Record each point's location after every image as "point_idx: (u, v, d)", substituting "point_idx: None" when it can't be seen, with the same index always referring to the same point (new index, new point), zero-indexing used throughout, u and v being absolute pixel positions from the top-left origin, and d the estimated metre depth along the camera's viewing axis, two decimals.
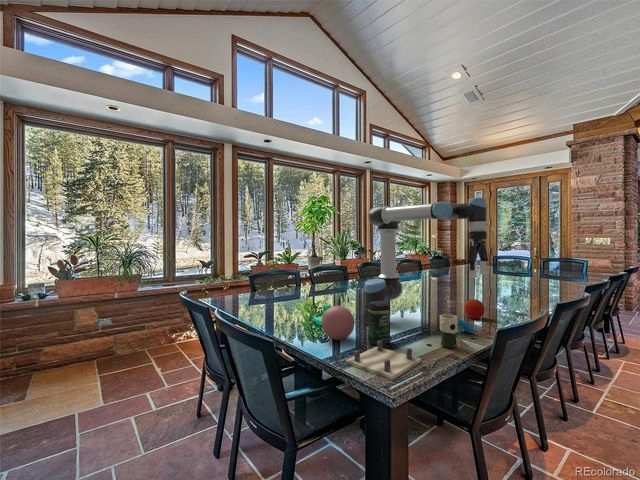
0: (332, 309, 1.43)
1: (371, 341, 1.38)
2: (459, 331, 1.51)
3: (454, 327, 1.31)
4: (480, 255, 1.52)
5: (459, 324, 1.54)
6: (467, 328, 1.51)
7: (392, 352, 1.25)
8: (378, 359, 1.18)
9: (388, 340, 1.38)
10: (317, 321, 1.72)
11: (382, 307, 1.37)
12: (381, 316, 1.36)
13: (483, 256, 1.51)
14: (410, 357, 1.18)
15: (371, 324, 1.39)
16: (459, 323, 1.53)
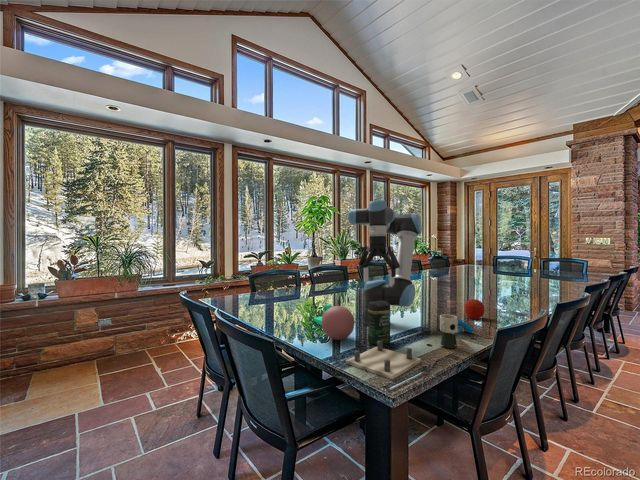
0: (332, 309, 1.43)
1: (371, 341, 1.38)
2: (458, 331, 1.51)
3: (454, 327, 1.31)
4: None
5: (459, 324, 1.54)
6: (466, 328, 1.51)
7: (392, 352, 1.25)
8: (378, 359, 1.18)
9: (388, 340, 1.38)
10: (318, 321, 1.72)
11: (382, 307, 1.37)
12: (381, 316, 1.36)
13: None
14: (410, 357, 1.18)
15: (371, 324, 1.39)
16: (458, 323, 1.53)
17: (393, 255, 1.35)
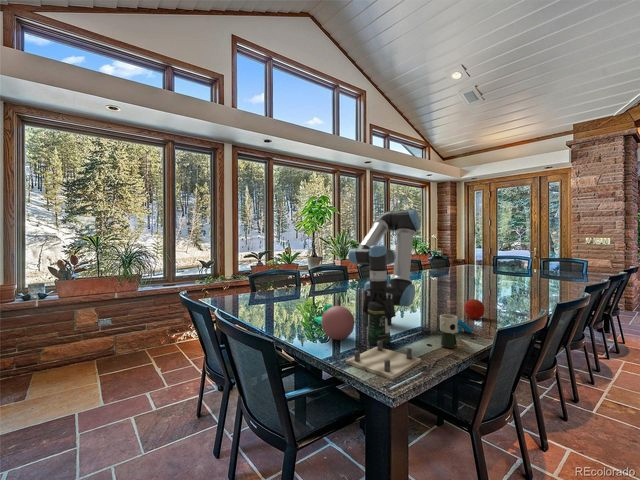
0: (332, 309, 1.43)
1: (371, 341, 1.38)
2: (458, 331, 1.51)
3: (454, 327, 1.31)
4: None
5: (458, 324, 1.54)
6: (466, 328, 1.51)
7: (392, 352, 1.25)
8: (378, 359, 1.18)
9: (388, 340, 1.38)
10: (318, 321, 1.72)
11: (382, 307, 1.37)
12: (381, 316, 1.36)
13: None
14: (410, 357, 1.18)
15: (371, 324, 1.38)
16: (458, 323, 1.53)
17: (391, 304, 1.35)
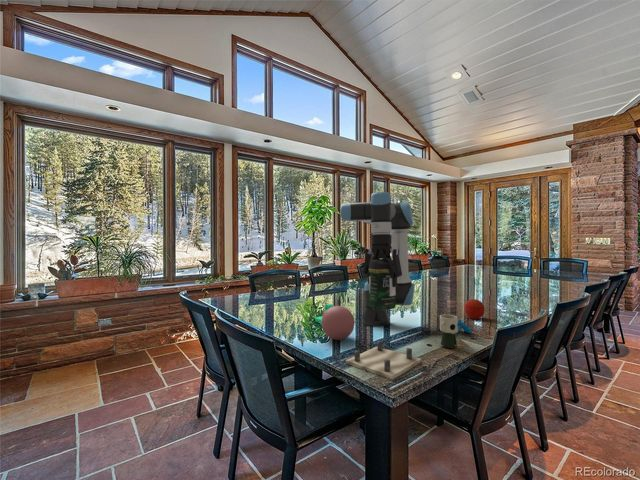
0: (332, 309, 1.43)
1: (373, 306, 1.15)
2: (457, 331, 1.51)
3: (454, 327, 1.31)
4: None
5: (458, 324, 1.54)
6: (465, 328, 1.51)
7: (392, 352, 1.25)
8: (378, 359, 1.18)
9: (393, 305, 1.16)
10: (319, 321, 1.72)
11: (386, 265, 1.14)
12: (384, 275, 1.14)
13: None
14: (410, 357, 1.18)
15: (373, 286, 1.16)
16: (457, 323, 1.53)
17: (397, 260, 1.13)
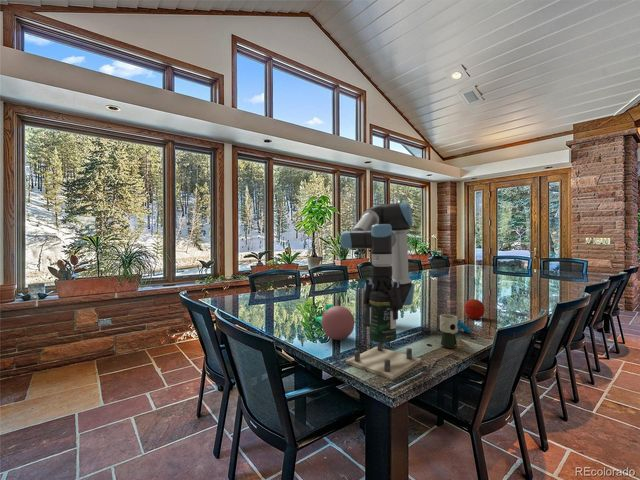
0: (332, 309, 1.43)
1: (374, 338, 1.15)
2: None
3: (454, 327, 1.31)
4: None
5: (457, 324, 1.54)
6: (464, 328, 1.51)
7: (392, 352, 1.25)
8: (378, 359, 1.18)
9: (394, 337, 1.15)
10: (320, 320, 1.72)
11: (386, 298, 1.14)
12: (385, 308, 1.13)
13: None
14: (410, 357, 1.18)
15: (373, 318, 1.16)
16: (457, 323, 1.53)
17: (398, 293, 1.13)
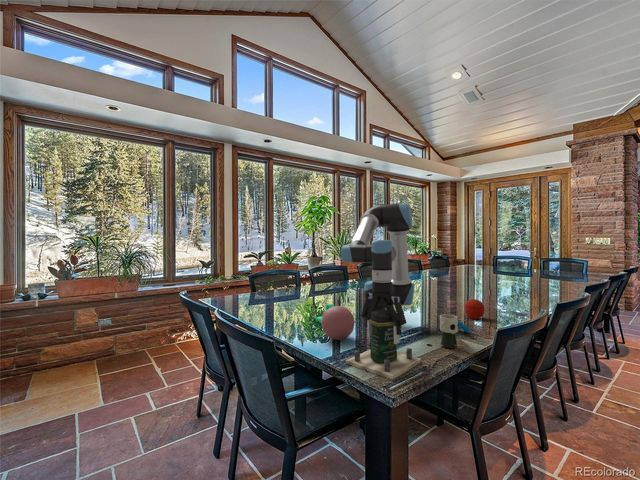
0: (332, 309, 1.43)
1: (375, 358, 1.15)
2: None
3: (454, 327, 1.31)
4: None
5: (457, 324, 1.54)
6: (464, 328, 1.51)
7: None
8: None
9: (395, 357, 1.16)
10: (320, 320, 1.73)
11: (387, 318, 1.14)
12: (386, 328, 1.13)
13: None
14: (410, 357, 1.18)
15: (374, 338, 1.16)
16: None
17: (400, 308, 1.12)
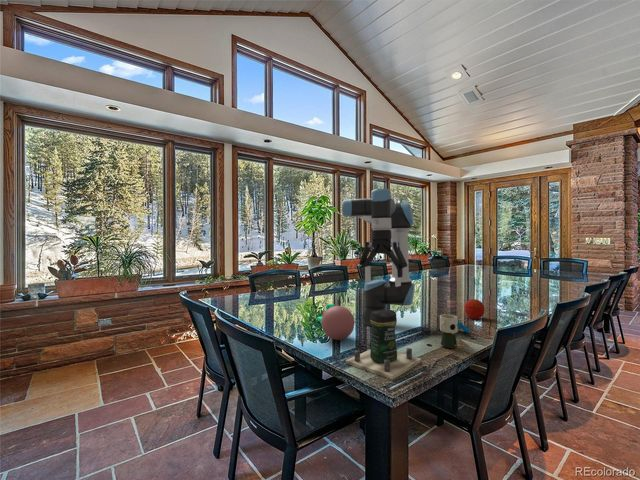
0: (332, 309, 1.43)
1: (375, 358, 1.15)
2: None
3: (454, 327, 1.31)
4: None
5: (457, 324, 1.54)
6: (463, 328, 1.51)
7: None
8: None
9: (395, 357, 1.16)
10: None
11: (387, 318, 1.14)
12: (386, 328, 1.13)
13: None
14: (410, 357, 1.18)
15: (374, 338, 1.16)
16: None
17: (399, 252, 1.16)
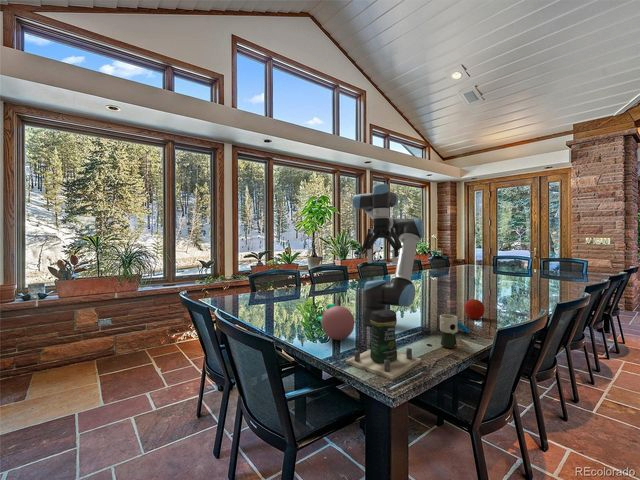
0: (332, 309, 1.43)
1: (375, 358, 1.15)
2: None
3: (454, 327, 1.31)
4: None
5: None
6: (463, 328, 1.51)
7: None
8: None
9: (395, 357, 1.16)
10: None
11: (387, 318, 1.14)
12: (386, 328, 1.13)
13: None
14: (410, 357, 1.18)
15: (374, 338, 1.16)
16: None
17: (396, 236, 1.40)
